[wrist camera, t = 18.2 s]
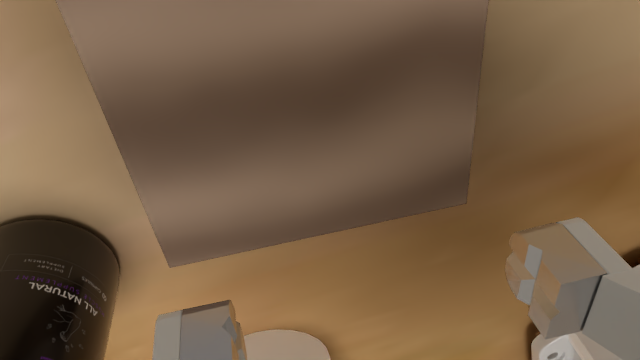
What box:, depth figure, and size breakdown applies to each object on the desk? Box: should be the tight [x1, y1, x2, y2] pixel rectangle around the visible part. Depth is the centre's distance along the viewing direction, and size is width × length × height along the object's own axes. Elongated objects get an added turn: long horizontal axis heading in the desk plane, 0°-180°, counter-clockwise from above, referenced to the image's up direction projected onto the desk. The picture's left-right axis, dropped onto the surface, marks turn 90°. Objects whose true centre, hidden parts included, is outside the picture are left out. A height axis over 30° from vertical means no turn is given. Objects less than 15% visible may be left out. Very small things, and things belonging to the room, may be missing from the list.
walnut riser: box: [56, 0, 489, 268], centre depth 20 cm, size 14×14×4 cm
